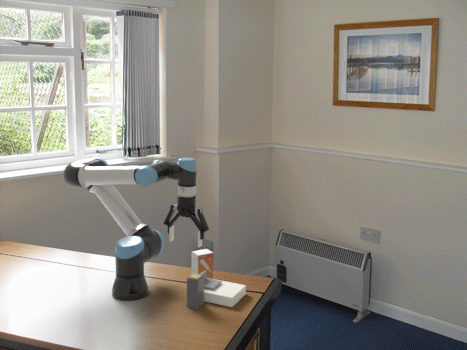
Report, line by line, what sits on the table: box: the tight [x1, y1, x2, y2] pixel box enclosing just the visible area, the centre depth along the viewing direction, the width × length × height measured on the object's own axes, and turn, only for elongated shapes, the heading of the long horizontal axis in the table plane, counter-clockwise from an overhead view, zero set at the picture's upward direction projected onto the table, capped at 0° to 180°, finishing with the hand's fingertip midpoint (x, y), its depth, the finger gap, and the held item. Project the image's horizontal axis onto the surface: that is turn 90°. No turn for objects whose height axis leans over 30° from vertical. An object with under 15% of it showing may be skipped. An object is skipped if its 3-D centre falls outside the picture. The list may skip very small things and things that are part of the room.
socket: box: [204, 277, 247, 308], centre depth 223 cm, size 20×14×4 cm
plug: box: [186, 274, 205, 310], centre depth 213 cm, size 5×5×13 cm
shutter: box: [199, 271, 223, 290], centre depth 224 cm, size 8×8×4 cm
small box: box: [190, 248, 214, 279], centre depth 239 cm, size 8×6×13 cm
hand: (185, 243), depth 225 cm, fingers open, 13 cm apart
